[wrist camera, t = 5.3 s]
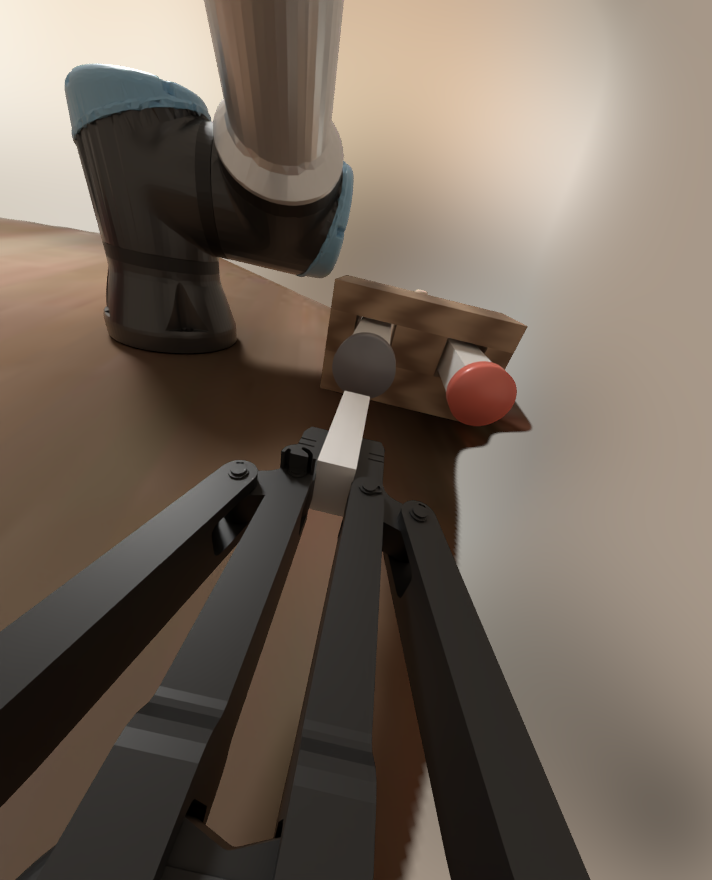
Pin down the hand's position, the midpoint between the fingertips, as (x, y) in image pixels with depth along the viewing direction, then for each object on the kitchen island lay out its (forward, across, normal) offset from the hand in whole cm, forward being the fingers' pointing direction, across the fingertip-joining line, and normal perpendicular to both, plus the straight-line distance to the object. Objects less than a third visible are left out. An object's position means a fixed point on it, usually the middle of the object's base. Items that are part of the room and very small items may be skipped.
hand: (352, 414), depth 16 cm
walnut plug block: (+21, +5, -7) cm, 23 cm away
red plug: (+14, +10, -2) cm, 17 cm away
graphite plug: (+14, 0, -2) cm, 14 cm away
